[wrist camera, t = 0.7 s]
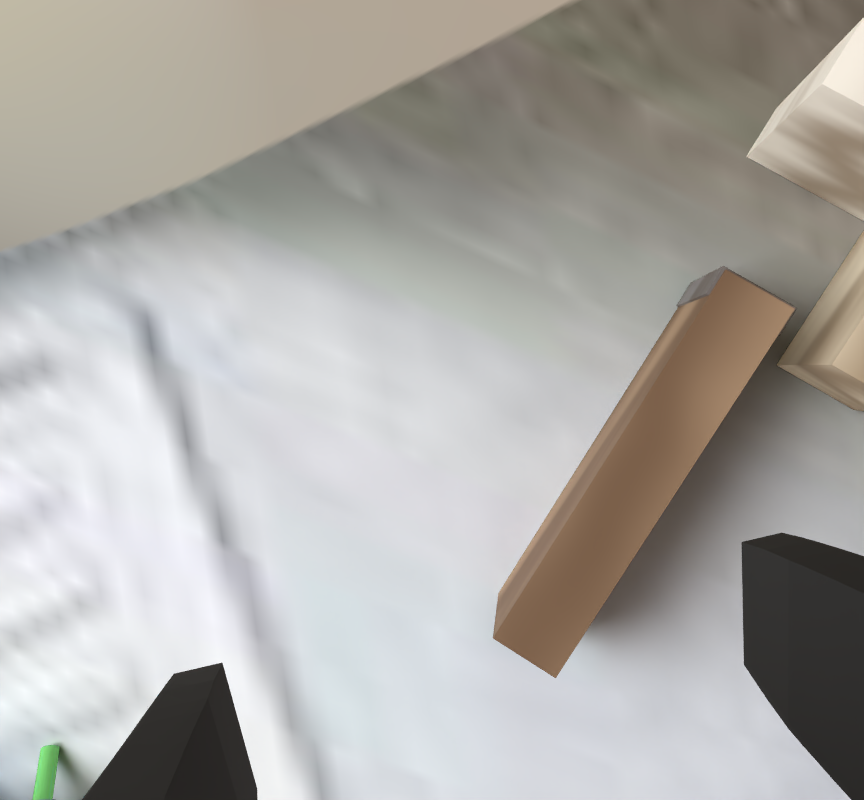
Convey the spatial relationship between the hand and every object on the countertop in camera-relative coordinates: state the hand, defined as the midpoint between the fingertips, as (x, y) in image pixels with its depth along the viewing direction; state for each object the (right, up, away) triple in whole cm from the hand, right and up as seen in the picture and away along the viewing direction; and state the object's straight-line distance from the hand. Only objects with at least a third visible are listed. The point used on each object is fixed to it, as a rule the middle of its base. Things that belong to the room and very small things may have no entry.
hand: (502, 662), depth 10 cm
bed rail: (+6, +1, +18) cm, 20 cm away
